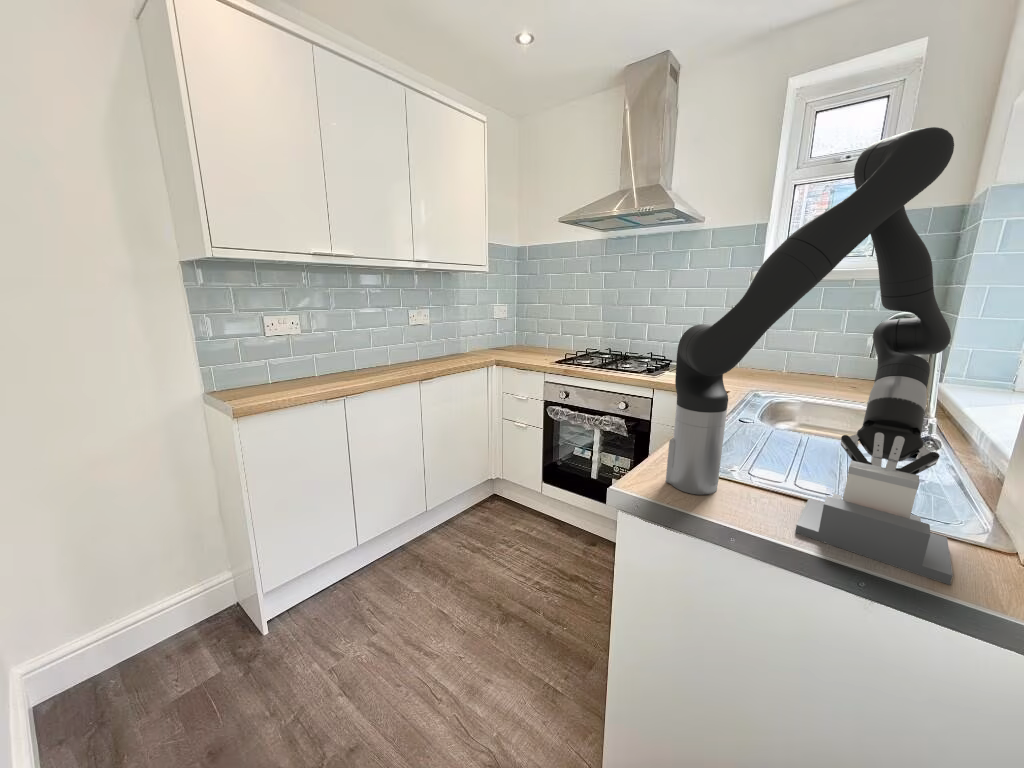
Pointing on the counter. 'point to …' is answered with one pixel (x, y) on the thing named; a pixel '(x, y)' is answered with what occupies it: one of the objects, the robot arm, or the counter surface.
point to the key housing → (878, 536)
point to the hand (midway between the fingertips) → (877, 495)
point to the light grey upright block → (881, 488)
